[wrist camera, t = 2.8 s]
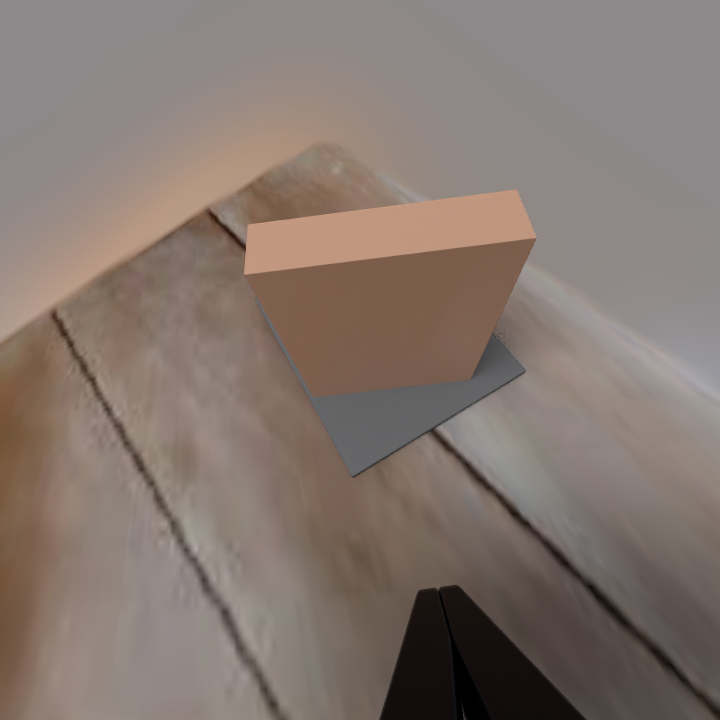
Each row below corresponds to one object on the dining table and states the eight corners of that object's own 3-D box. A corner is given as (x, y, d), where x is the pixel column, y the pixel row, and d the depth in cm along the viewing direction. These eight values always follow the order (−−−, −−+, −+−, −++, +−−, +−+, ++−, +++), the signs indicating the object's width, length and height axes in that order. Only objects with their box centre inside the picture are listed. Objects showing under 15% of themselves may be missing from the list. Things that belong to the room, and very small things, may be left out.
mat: (523, 373, 23) (525, 370, 23) (352, 477, 21) (351, 476, 21) (396, 230, 30) (396, 226, 29) (256, 301, 28) (254, 297, 27)
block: (470, 379, 23) (536, 237, 12) (313, 397, 23) (244, 274, 13) (461, 345, 24) (516, 187, 13) (312, 362, 24) (248, 222, 14)
